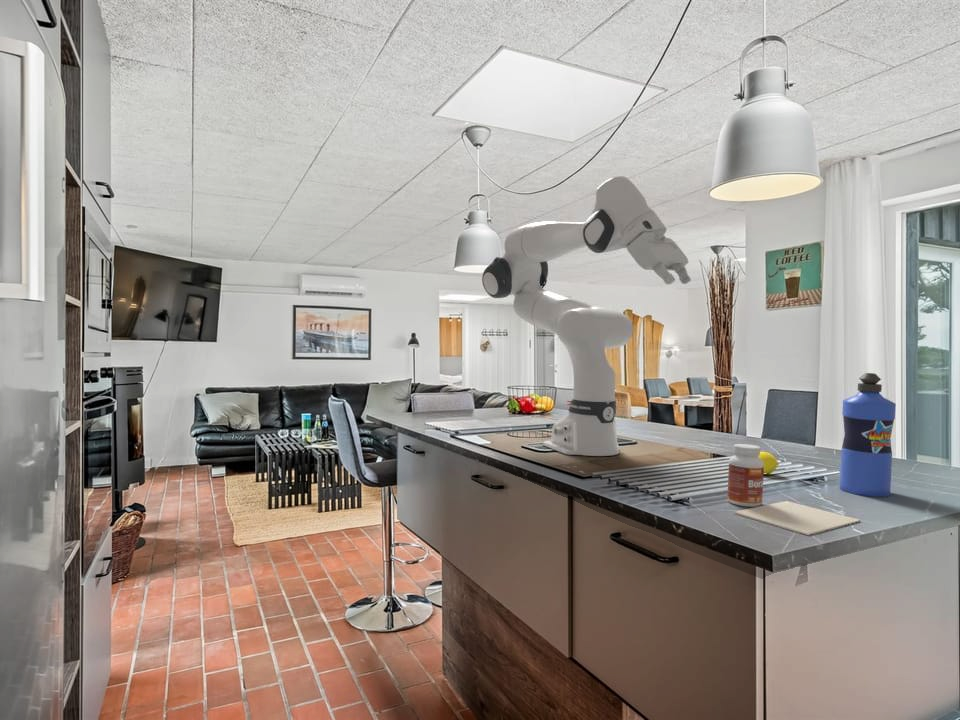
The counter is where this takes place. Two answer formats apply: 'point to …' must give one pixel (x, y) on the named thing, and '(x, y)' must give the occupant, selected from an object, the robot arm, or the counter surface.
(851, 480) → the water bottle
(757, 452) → the pill bottle
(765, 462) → the lemon
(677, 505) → the counter surface
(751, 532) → the counter surface
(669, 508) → the counter surface
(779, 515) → the mat
